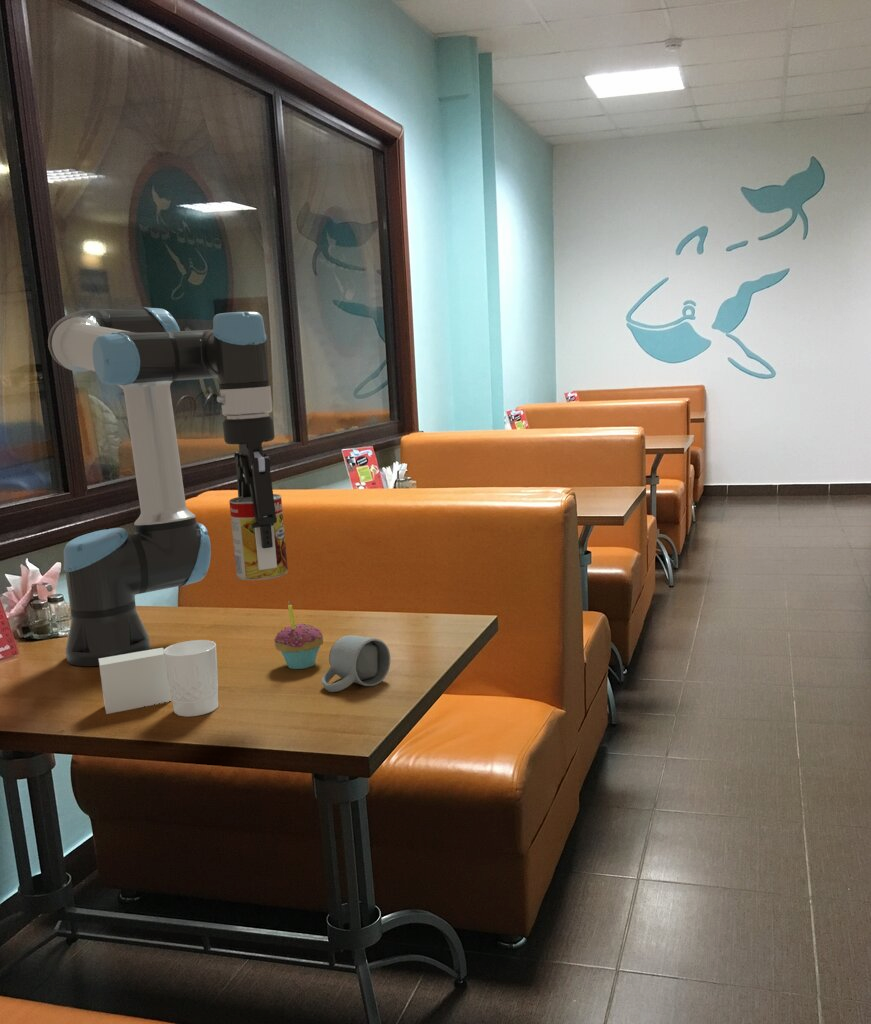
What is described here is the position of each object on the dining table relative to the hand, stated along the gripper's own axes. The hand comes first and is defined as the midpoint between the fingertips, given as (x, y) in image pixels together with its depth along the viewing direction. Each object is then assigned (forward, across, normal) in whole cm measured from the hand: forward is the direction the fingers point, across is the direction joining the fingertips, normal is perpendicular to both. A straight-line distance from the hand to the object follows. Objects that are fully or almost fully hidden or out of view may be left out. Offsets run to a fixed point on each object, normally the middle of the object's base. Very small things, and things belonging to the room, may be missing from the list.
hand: (261, 563), depth 147 cm
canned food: (+2, 0, 0) cm, 2 cm away
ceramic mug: (+22, +1, +13) cm, 26 cm away
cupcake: (+22, -14, +8) cm, 27 cm away
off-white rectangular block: (+22, -10, -20) cm, 31 cm away
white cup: (+22, -2, -12) cm, 25 cm away
